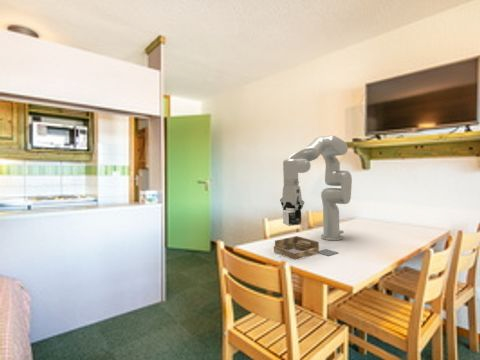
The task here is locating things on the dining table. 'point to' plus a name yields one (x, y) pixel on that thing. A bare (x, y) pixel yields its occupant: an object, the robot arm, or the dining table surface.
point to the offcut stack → (303, 245)
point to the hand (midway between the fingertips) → (291, 216)
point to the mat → (327, 252)
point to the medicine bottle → (290, 215)
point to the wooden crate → (290, 243)
